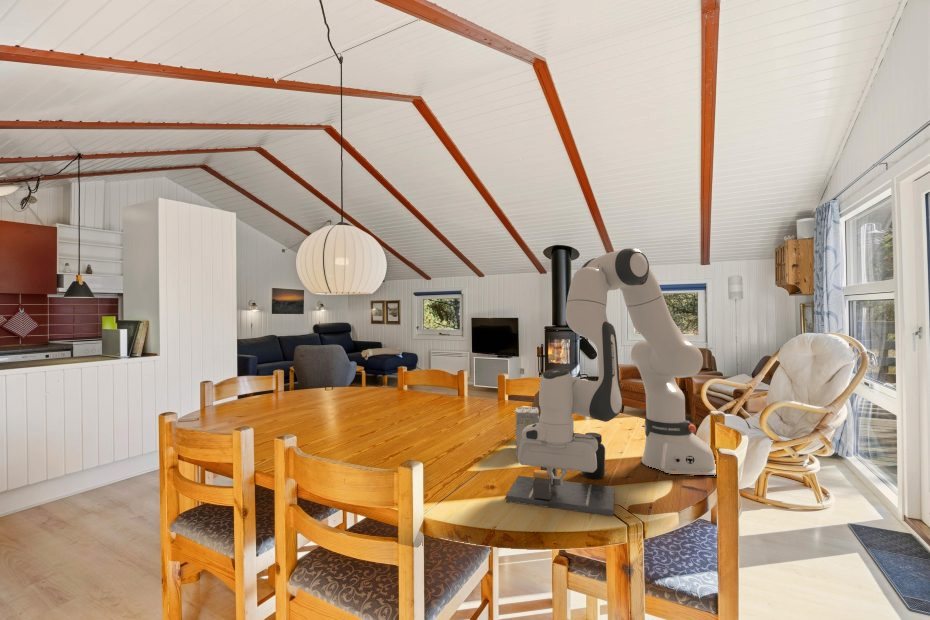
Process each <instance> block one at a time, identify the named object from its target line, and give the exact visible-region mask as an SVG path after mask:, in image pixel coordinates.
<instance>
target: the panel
mask: <svg viewBox="0 0 930 620" xmlns="http://www.w3.org/2000/svg"><path fill="white" fill-rule="evenodd" d="M505 500H506V502H509V503H516V504H521V505H528V506H529V505H530V506H535V507H544V508H552V509H560V510H565V511H566V510H567V511H574V512H581V513H589V514H593V515H594V514H596V515H601V516H609V517H610V516H611V517H614V507H613V505H614V503H615V502H614V501H615V487H614V486H608V485H600V484H592V483H583V482H574V481H567V480H566V481H565V480H563V485H562V486H559V485H551V496H550V499H549V500H548V499H540V498H533V476H525V475H524V476H523V475H518V476H517V477H516V479H515V480H514V482H513V484H512V485H511V487H510V489H509V491H508V492H507V493H506V495H505Z"/></svg>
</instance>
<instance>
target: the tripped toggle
mask: <svg viewBox="0 0 930 620" xmlns="http://www.w3.org/2000/svg"><path fill="white" fill-rule="evenodd" d="M532 477H533V481H534V479H535V477H537V478H545V479H550V476H549V475H548V473H547V471H545V470H541V469H534V471H533V473H532Z"/></svg>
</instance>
